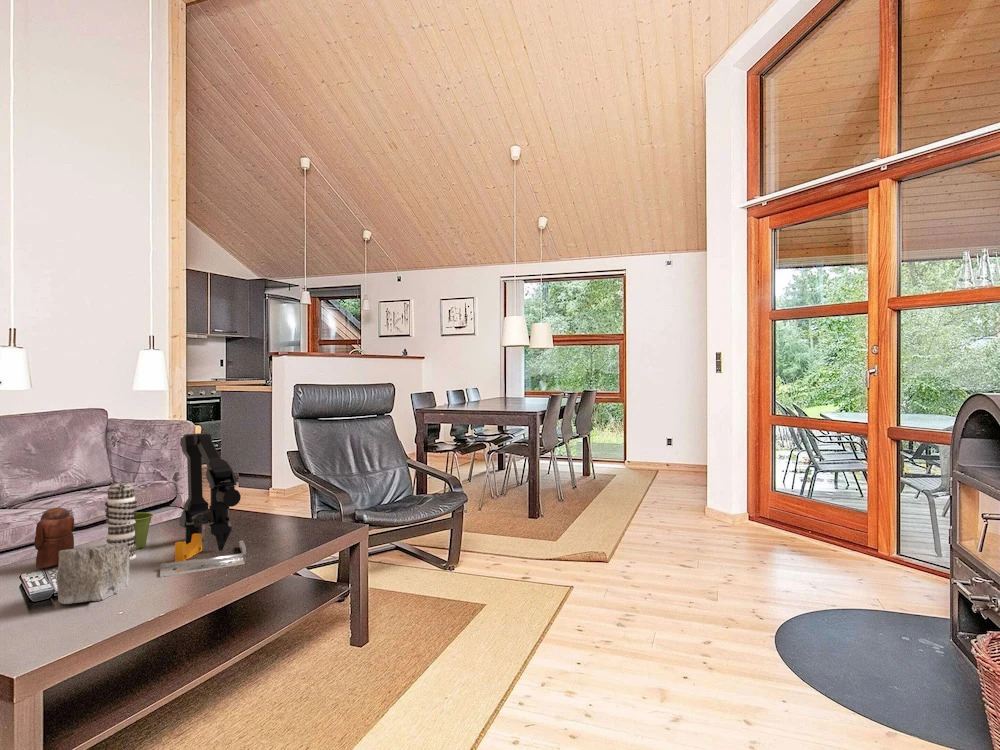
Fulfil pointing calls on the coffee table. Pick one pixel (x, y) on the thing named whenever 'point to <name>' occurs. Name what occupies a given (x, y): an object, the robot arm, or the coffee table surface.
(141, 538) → the plant pot
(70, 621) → the coffee table surface
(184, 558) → the pipe clamp
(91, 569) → the petrified wood
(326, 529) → the coffee table surface
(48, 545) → the wooden figurine
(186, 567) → the hinge bed
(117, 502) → the decorative candle
